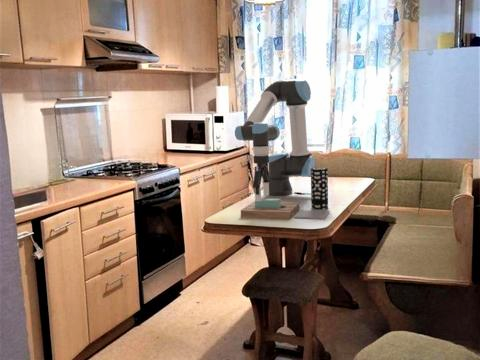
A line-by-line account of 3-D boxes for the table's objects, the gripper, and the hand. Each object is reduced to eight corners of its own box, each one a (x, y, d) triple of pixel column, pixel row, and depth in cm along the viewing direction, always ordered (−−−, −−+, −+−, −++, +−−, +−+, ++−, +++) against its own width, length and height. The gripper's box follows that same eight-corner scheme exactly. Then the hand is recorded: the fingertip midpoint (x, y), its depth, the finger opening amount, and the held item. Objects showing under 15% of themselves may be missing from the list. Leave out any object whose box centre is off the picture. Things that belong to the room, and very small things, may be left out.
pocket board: (253, 208, 264) (253, 201, 263) (299, 209, 256) (299, 202, 255) (240, 217, 245) (240, 210, 245) (290, 219, 238) (289, 212, 237)
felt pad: (301, 211, 253) (301, 210, 253) (329, 212, 248) (329, 211, 248) (294, 218, 240) (294, 216, 240) (324, 219, 235) (324, 218, 235)
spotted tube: (308, 207, 261) (307, 168, 258) (322, 205, 264) (322, 166, 261) (316, 210, 253) (315, 170, 250) (331, 208, 256) (330, 168, 253)
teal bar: (257, 208, 255) (257, 198, 254) (281, 208, 251) (280, 198, 250) (255, 210, 251) (254, 200, 250) (279, 210, 247) (278, 200, 246)
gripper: (261, 152, 260) (262, 193, 264) (245, 158, 237) (246, 203, 240) (275, 152, 258) (276, 193, 261) (260, 158, 234) (262, 203, 238)
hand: (262, 198), depth 251 cm, fingers open, 13 cm apart
